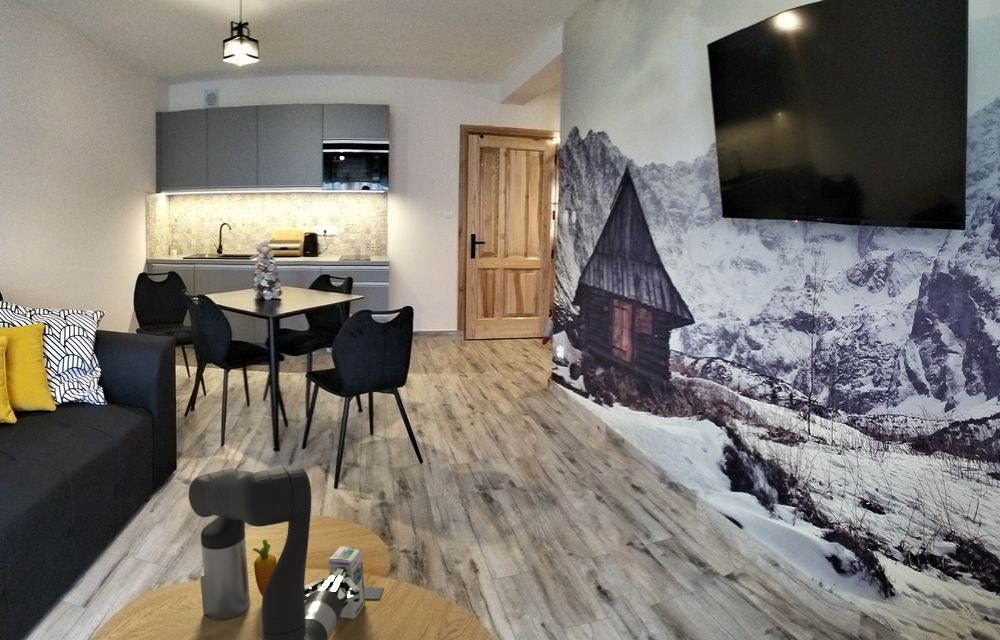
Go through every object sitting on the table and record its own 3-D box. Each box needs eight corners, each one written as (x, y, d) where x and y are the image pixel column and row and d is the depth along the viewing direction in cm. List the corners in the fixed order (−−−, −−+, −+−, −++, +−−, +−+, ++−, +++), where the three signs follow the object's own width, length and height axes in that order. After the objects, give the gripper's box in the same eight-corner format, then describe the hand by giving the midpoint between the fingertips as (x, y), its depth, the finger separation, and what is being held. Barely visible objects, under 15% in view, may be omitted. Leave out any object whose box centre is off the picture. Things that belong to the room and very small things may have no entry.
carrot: (269, 609, 150) (265, 549, 148) (252, 604, 152) (247, 545, 149) (283, 597, 155) (279, 538, 152) (266, 593, 156) (262, 535, 154)
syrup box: (355, 620, 146) (352, 560, 144) (330, 616, 148) (327, 558, 145) (365, 604, 152) (363, 547, 149) (341, 601, 153) (339, 545, 150)
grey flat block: (343, 599, 154) (343, 597, 154) (349, 588, 158) (348, 586, 158) (379, 599, 154) (379, 598, 154) (383, 588, 158) (383, 587, 158)
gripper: (349, 603, 126) (370, 556, 143) (282, 601, 127) (311, 554, 144) (351, 638, 128) (372, 587, 145) (285, 636, 128) (313, 585, 145)
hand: (342, 571), depth 144 cm, fingers closed
